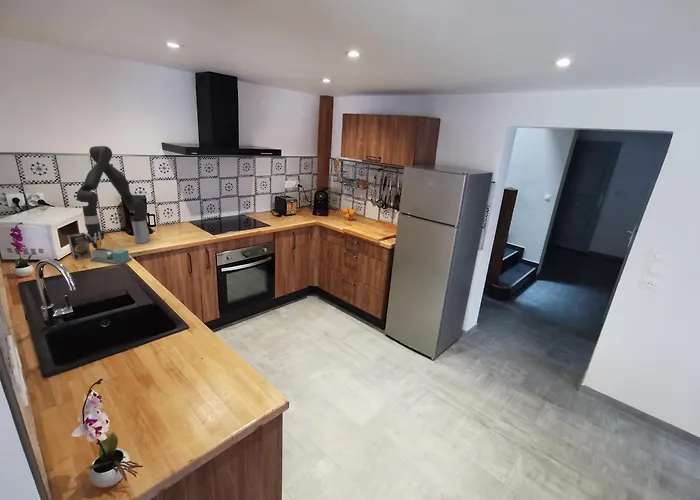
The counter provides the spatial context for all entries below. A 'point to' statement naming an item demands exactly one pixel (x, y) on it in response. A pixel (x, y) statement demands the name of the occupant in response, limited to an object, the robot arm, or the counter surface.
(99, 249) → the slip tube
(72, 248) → the coffee box
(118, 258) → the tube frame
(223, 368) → the counter surface
